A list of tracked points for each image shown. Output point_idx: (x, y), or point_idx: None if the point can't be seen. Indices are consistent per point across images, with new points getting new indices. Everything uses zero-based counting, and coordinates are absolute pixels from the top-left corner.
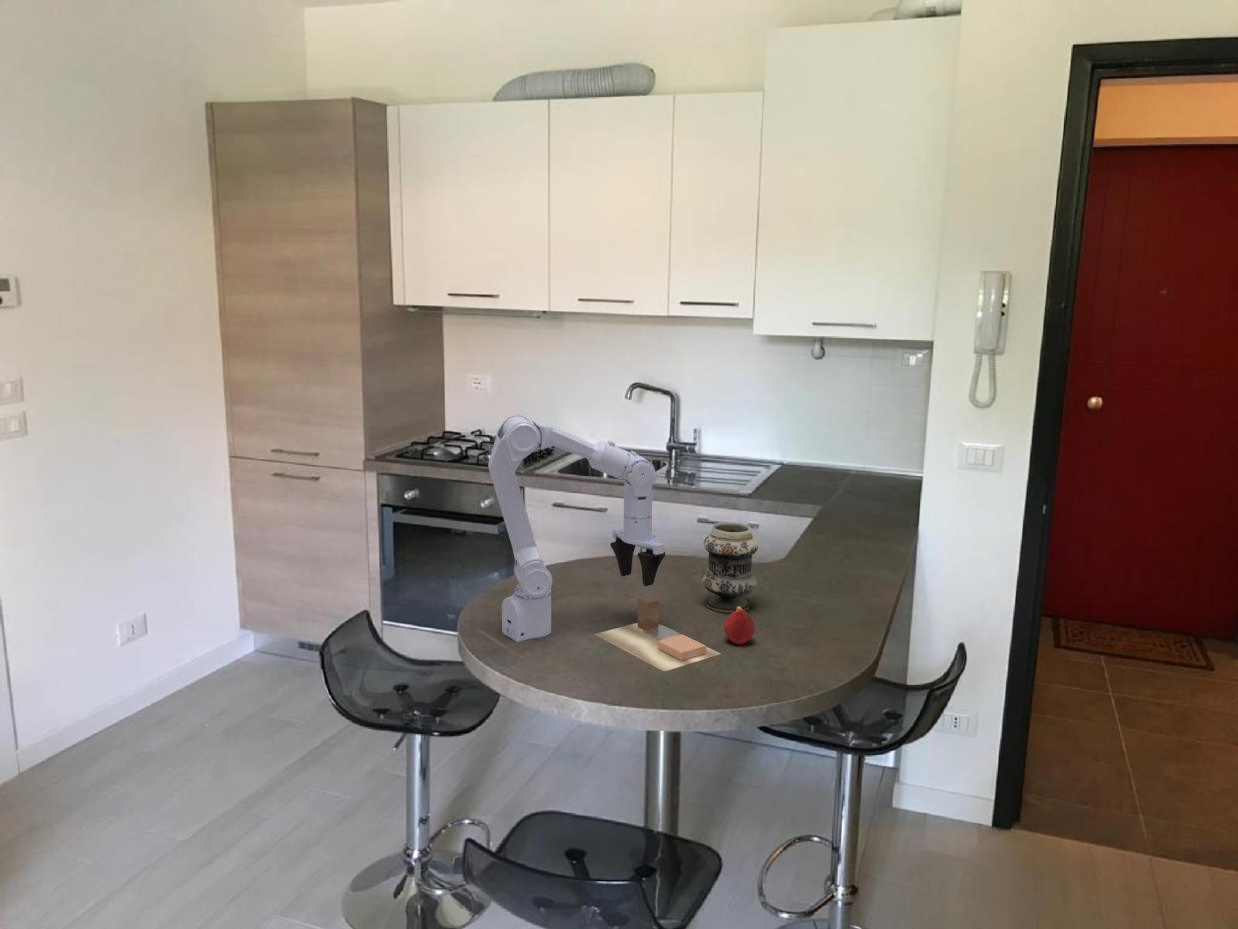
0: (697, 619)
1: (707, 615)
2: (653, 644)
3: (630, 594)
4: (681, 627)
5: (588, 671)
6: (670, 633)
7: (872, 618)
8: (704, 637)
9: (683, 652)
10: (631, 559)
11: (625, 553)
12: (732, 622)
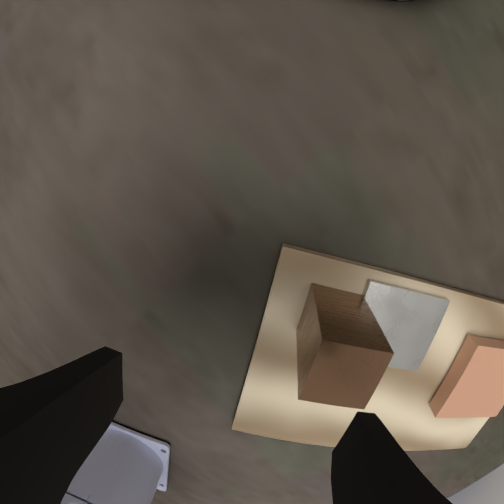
0: (392, 91)
1: (390, 40)
2: (406, 392)
3: (63, 77)
4: (397, 196)
5: None
6: (426, 321)
7: None
8: (486, 226)
9: (498, 412)
10: (55, 409)
11: (37, 488)
12: None
